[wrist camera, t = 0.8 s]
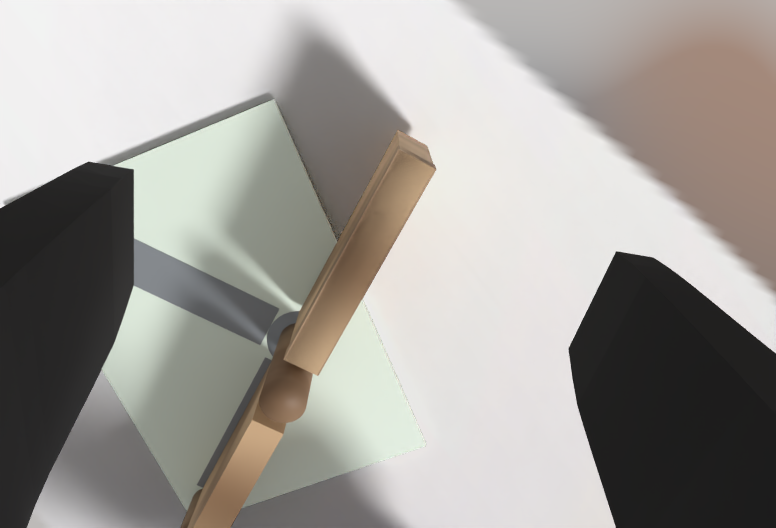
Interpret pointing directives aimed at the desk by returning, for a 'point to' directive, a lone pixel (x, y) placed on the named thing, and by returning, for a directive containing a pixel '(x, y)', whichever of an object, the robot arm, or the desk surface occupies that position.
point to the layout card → (241, 313)
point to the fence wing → (360, 251)
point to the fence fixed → (252, 441)
